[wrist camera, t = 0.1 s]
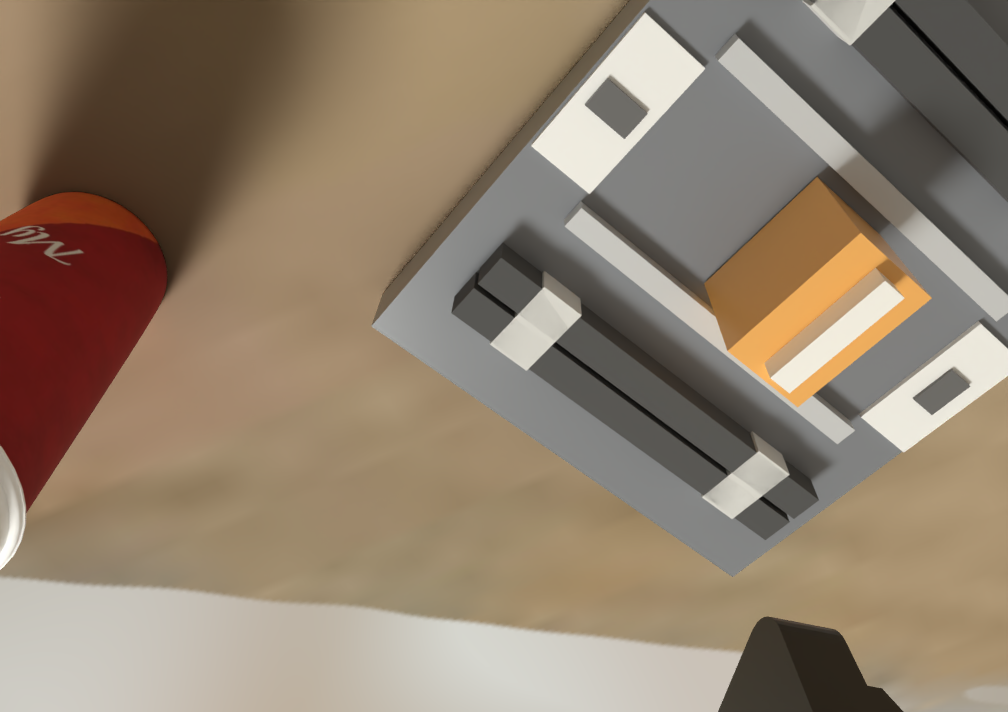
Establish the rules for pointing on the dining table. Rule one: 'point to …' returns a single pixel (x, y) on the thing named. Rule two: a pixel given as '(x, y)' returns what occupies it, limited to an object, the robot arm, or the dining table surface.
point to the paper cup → (64, 331)
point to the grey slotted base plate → (653, 388)
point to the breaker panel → (722, 245)
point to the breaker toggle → (811, 294)
